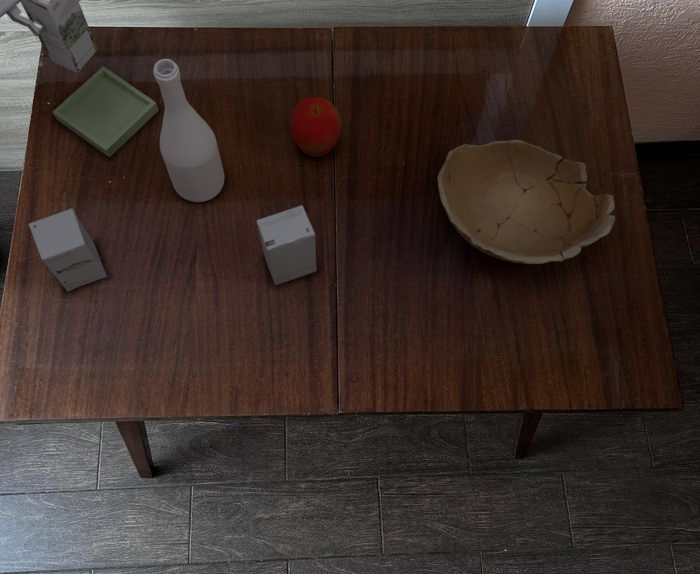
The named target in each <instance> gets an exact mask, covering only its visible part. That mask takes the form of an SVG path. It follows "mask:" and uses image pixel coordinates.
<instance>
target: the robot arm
mask: <svg viewBox="0 0 700 574" xmlns="http://www.w3.org/2000/svg"><path fill="white" fill-rule="evenodd" d="M20 1H21V0H0V19H1V18H2V17H4V16H5V15H7V16H8V17H9V19H10V20H11V21H12V22H14V23H17V24H19V25H21V26H24V27H27V29H28V30H30V31H31V33H32V35H34V36H35V37H38V35H39V34H40V33H42V32H43V31H44V30H45V28H44V26H43V25H41V24H40V22H39V20H38V19H35V20H34V21H33V22H32V21H31V20H30V19H29V18H27V17H25V16H23V15H21V14H22V11H21V9H20V8H19V7H18V5H19V4H21V2H20ZM78 1H79V2H80V1H81V0H78Z"/></svg>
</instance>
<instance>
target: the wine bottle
mask: <svg viewBox="0 0 700 574" xmlns="http://www.w3.org/2000/svg"><path fill="white" fill-rule="evenodd" d="M152 72H153V76H154V79H155V81H156V83H157V85H158V87H159V90H160V93H161V97H162V101H163V105H164V111H163V112H164V113H163V118H162V123H161V124H162V125H161V130H160V134H159V150H160V154H161V157H162V159H163V162H164V165H165V168H166V170H167V173H168V176H169V177H170V181H171V184H172V187H173V189H174V191H175V192H176V193H177V195H179V196H180V197H181V198H183V200H186V201H189V202H193V203H204V202H207V201H210V200H212V199H214V198H215V197H216V196H218V195H219V193H220V192H221V191H222V189H223V187H224V185H225V171H224V167H223V163H222V158H221V154H220V151H219V150H220V149H219V146H218V142H217V138H216V135H215V132H214V131H213V129H212V128H211V127H210V126H209V124H208V123H207V122H206V120H204V119H203V118H202V117H201V116H200V114H199V113H198V111H196V109H194V108H193V106H191V104H190V103H189V101H188V100H187V98H186V95H185V94H186V93H185V90H184V88H183V85H182V81H181V72H180V69H179V66H178V64H177V63H176V62H175V61H174V60H172V59H169V58H162V59H159V60H158V61H156V63H154V67H153V71H152Z"/></svg>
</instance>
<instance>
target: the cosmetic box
mask: <svg viewBox="0 0 700 574" xmlns="http://www.w3.org/2000/svg"><path fill="white" fill-rule="evenodd" d="M256 226H257V231H258V234H259V239H260V241H261V247H262V252H263V256H264V260H265V263H266V265H267V268H268V270H269V274H270V276H271V278H272V281H273V284H274V285H275V286H278V285H281V284H283V283H286V282H290V281H293V280H296V279H298V278H303V277H304V276H307V275H309V274H313V273H317V272H318V268H317V253H316V251H317V250H316V233H315V230H314V228H313V226H312V224H311V221H310V218H309V217H308V214H307V212H306V210H305V208H304V206H303V205H299V206H295V207H292V208H290V209H287V210H286V209H285V210H283V211H281V212H278V213H274V214H271V215H268V216H265V217H263V218H259V219H256Z"/></svg>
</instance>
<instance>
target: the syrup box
mask: <svg viewBox="0 0 700 574" xmlns="http://www.w3.org/2000/svg"><path fill="white" fill-rule="evenodd" d="M20 5H22V7H23V10H24V11H25V14H26V16H27V17H28V19H29V20H31V21H32V22H33V21H34V20H35V19H38V20H39V22H40V24H41V25H43V26H44V28H45V30H44V31H43V32H42V33H40V34H39V35H38V36H37V37H38V39H39V42H40V43H41V46H42V47H43V50H44V51H45V54H46V55H47V58H48V59H49V60H50V61H51V62H53V63H55V64H57V65H59V66H62V67H63V68H66V69H68V70H70V71H71V72H74V73H76V74H80V73H81V71H82V70H83V69H84V68H85V66H86V65H87V64H88V63H89V62H90V61H91V59H92V58H93V57H94V55H96V54H97V52H98V50H99V49H98V46H97V44H96V42H95V39H94V37H93V34H92V32H91V29H90V27H89V24H88V22H87V19H86V17H85V14H84V12H83V11H84V10H83V9H82V6H81V4H80V1H78V0H21V1H20Z"/></svg>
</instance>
